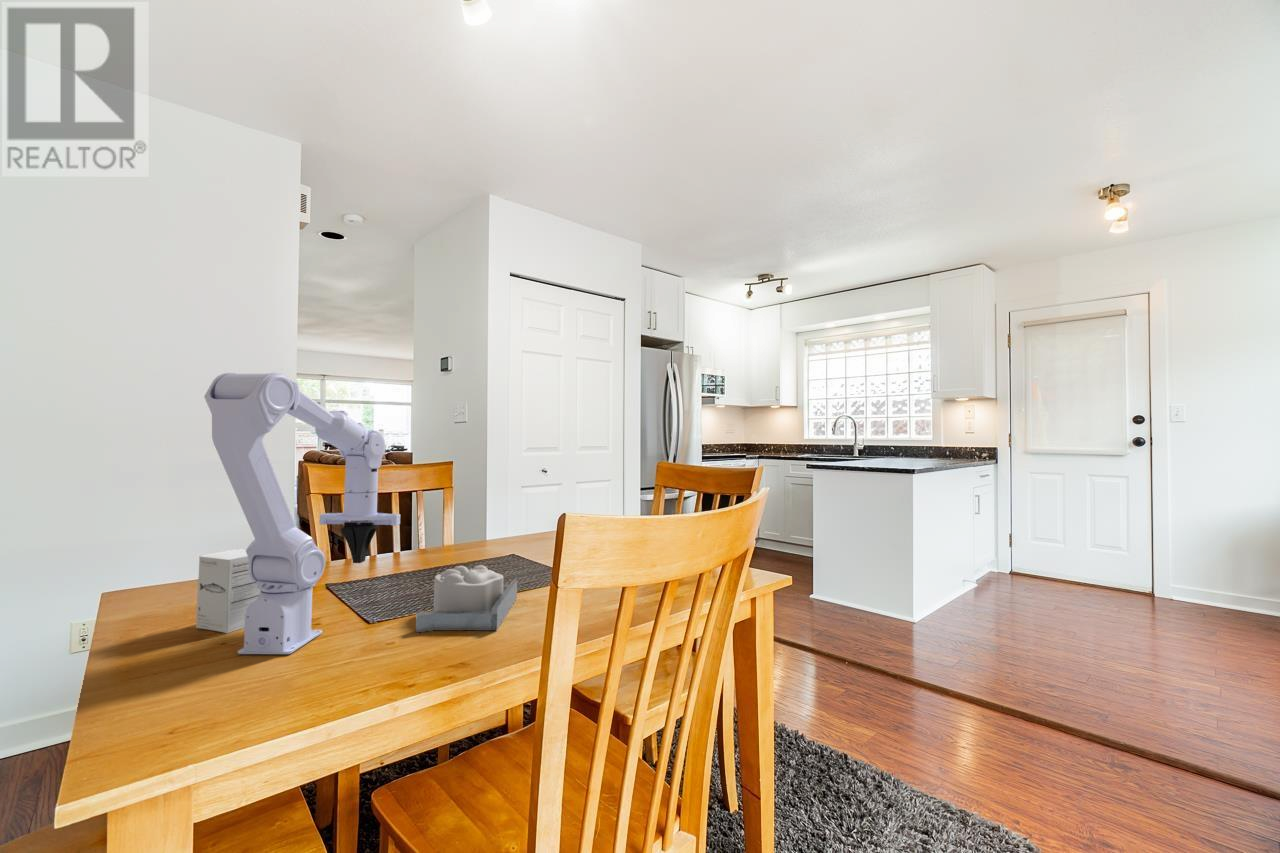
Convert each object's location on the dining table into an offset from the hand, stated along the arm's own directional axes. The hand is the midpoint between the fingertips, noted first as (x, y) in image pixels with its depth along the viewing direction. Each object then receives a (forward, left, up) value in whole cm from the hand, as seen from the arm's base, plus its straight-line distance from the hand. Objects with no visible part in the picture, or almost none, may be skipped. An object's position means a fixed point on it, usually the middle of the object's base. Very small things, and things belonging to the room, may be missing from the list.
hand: (358, 562), depth 104 cm
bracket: (-1, -22, -9) cm, 24 cm away
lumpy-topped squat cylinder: (-1, -21, -10) cm, 23 cm away
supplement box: (-8, +18, -10) cm, 22 cm away
